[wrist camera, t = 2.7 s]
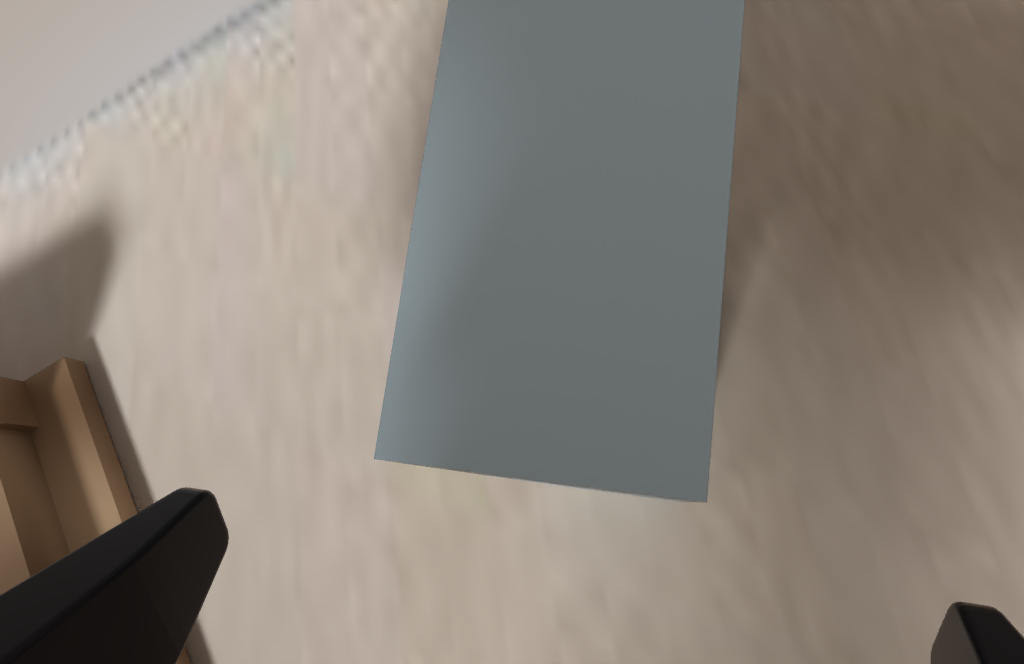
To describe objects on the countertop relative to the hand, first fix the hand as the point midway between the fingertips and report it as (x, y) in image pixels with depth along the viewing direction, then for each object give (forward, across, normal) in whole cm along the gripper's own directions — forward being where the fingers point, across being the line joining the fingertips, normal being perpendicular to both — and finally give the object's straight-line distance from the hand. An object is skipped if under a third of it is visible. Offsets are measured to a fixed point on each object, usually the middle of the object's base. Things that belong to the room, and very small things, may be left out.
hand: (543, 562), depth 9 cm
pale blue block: (+10, 0, +5) cm, 11 cm away
